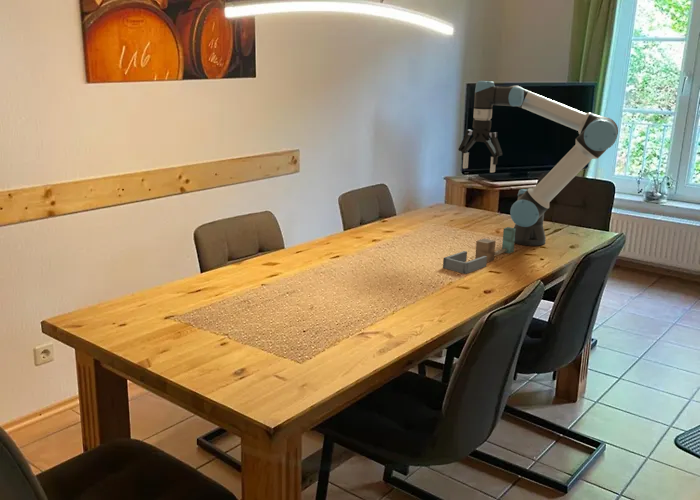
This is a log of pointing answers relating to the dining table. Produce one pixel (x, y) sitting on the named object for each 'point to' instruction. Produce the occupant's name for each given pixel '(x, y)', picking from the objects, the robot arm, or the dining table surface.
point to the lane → (463, 263)
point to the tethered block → (488, 246)
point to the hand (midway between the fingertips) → (478, 170)
